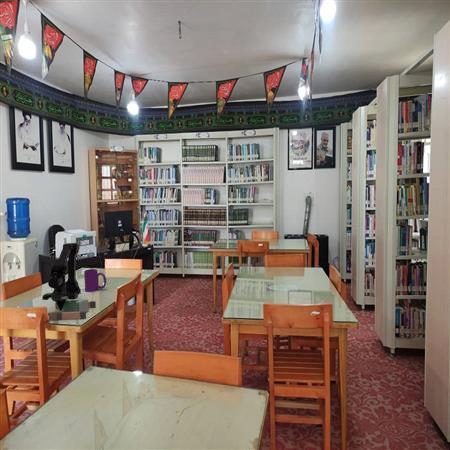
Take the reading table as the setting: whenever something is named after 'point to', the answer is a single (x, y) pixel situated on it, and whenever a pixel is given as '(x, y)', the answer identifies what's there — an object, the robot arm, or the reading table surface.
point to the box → (76, 305)
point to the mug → (93, 280)
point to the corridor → (70, 313)
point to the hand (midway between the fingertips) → (61, 310)
